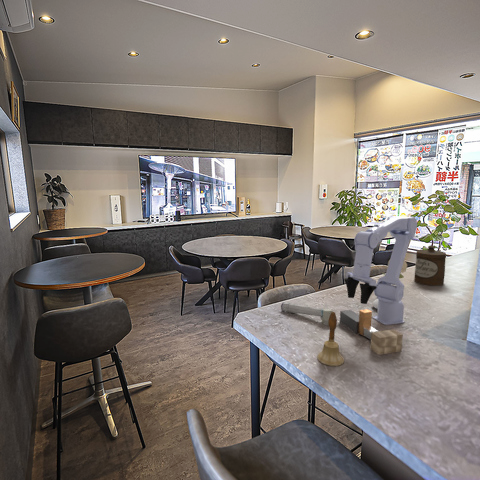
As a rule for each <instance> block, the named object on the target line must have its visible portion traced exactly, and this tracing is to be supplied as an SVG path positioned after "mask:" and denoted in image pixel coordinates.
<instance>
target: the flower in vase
mask: <svg viewBox="0 0 480 480" xmlns="http://www.w3.org/2000/svg"><path fill="white" fill-rule="evenodd" d="M389 262H390V259H389V260H388V262H387V266H388V265H389ZM407 267H408V264H407V261H405V259H404V262H403V266H402V269H401V273H400V276H399V279H403V278H404V277H405V276H404V275H403V274H404V273H405V272H407V270H408V268H407ZM382 274H383V276H385V275H386V273H384V272H383V271H382ZM389 285H392V284H389ZM372 306H373V307H374V308H375V309H377V310H378V299H377V298H376V299H375V300H374V301H372Z"/></svg>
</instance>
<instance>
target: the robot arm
mask: <svg viewBox="0 0 480 480" xmlns="http://www.w3.org/2000/svg"><path fill="white" fill-rule="evenodd" d="M417 227H418V220H417V218H416V217H415V216H404V215H403V216H402V215H389V216H387V219H386V221H384V223H382V224H380V223H375V224H374V225H373V226H372V227H369V228H367V229H366V230H365V231H362V230H361V231H359V232H357V233H356V235H355V236H354V238H353V239H354V250H355V255H354V262H353V270H352V272H349V271H347V272H346V275H345V277H346V278H344V282H345V285H346V293H347V298H350V299H354V298H355V296H356V291H357V288H358V285H359V287H360V304H363V305H367V304H368V301H369V299H370V298H371V295H372V294H373V293H374V296H376V299H378V309H377V313H376V314H377V315H372V318H373V319H374V320H375V321H378V322H379V323H381V324H383V325H385V326H390V325H396V324H402V323H403V324H404V323H405V321H404V311H405V306H404V303H403V301H402V299H403V298H404V291H405V290H404V289H405V285H404V283H403V282H402V281H401V279H400V278H399V276H400V273H401V269H402V266H403V262H404V260H405V257H406V255H407V251H408V248H409V244H410V241H411V240H413V239H415V236H416V232H417ZM388 233H389V234H390V236H392V237H393V238H394V239H395V242H394V244H393V248H392V252H391V255H390V259H389V260H390V262H389V261H388V262H389V265H388V264H387V269H386V273H385V274H386V275H383V276H381V277H379V278H378V280H376V279H373V278H372V277H370V275H371V267H372V260H373V255H374V254H373V253H374V249H375V248H377V247H378V244H379V243H380V241H382V240H383V239H385V238H386V237H387V236H388ZM401 274H402V273H401ZM360 282H361V283H360ZM389 284H391V285H389Z"/></svg>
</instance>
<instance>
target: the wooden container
mask: <svg viewBox="0 0 480 480" xmlns="http://www.w3.org/2000/svg"><path fill="white" fill-rule="evenodd" d="M435 249H436V247H435V246H434V245H432V244H430V245H428V246H427V249H419V250H416V252H415V253H416V254H415V255H416V256H415V257H416V258H415V266H414V282H415V283H418V284H421V285H426V286H435V287H436V286H443V285H444V284H445V283H444V282H445V273H446V259H447V258H446V257H447V253H446V252H444V251H441V250H435Z"/></svg>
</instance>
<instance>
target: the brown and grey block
mask: <svg viewBox="0 0 480 480" xmlns="http://www.w3.org/2000/svg"><path fill="white" fill-rule="evenodd" d="M358 313H359V314H358V315H359V323H358V334H360V335H361V336H364V337H366V338H367V339H369V340H370V341H371V333H372V332H379V330H377V329H376V328H375V327H373V326H372V317H373V312H372V310H370V309H368V308H366V309H359V311H358Z"/></svg>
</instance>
